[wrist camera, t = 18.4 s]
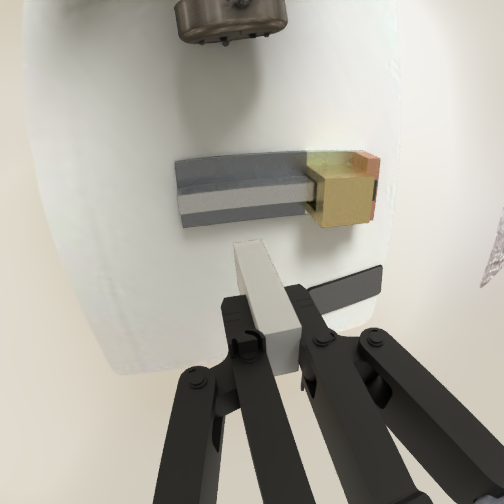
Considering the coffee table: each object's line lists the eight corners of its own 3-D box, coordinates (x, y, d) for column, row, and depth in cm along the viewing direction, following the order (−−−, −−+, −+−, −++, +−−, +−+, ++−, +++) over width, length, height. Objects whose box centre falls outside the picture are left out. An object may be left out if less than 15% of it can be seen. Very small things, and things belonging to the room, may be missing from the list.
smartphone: (380, 293, 55) (310, 319, 54) (378, 290, 56) (308, 315, 55) (383, 264, 51) (307, 290, 50) (380, 262, 52) (305, 287, 51)
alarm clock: (265, 7, 28) (315, -37, 14) (271, 44, 31) (326, 19, 17) (175, 18, 27) (168, -30, 13) (182, 57, 30) (177, 31, 16)
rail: (183, 225, 41) (183, 242, 37) (174, 161, 36) (173, 170, 32) (357, 207, 45) (373, 220, 41) (362, 150, 40) (380, 158, 36)
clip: (305, 209, 42) (321, 227, 37) (306, 165, 39) (324, 178, 34) (348, 205, 43) (369, 222, 38) (352, 164, 40) (374, 176, 35)
